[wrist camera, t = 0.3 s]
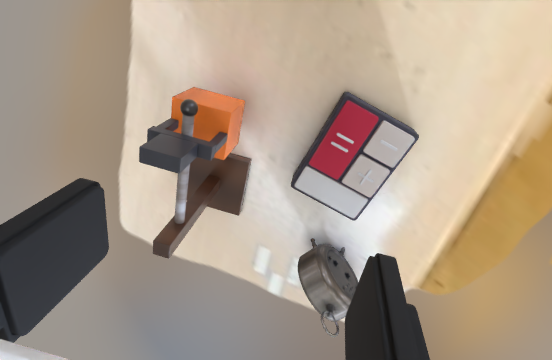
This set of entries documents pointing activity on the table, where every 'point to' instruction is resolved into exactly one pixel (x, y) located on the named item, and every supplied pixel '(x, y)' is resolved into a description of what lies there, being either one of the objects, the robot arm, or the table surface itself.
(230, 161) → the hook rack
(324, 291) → the alarm clock
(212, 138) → the orange square box
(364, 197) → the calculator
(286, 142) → the table surface
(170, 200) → the table surface
